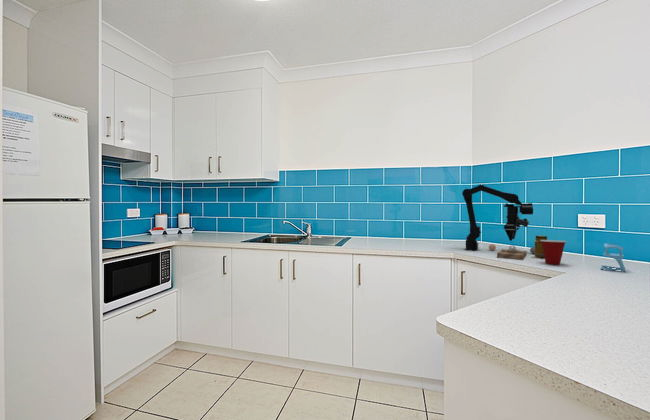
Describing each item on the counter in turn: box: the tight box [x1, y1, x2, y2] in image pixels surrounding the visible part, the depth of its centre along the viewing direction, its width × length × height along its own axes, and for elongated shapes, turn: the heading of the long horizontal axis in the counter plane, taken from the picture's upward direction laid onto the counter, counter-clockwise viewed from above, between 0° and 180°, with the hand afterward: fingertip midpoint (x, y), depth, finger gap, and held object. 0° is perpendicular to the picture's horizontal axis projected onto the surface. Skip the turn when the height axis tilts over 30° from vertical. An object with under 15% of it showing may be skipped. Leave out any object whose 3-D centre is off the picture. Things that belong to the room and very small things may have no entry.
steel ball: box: [508, 245, 517, 250], centre depth 186 cm, size 4×4×4 cm
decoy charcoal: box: [529, 246, 535, 255], centre depth 179 cm, size 4×4×4 cm
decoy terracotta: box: [488, 243, 497, 251], centre depth 193 cm, size 4×4×4 cm
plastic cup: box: [540, 239, 567, 266], centre depth 153 cm, size 11×11×12 cm
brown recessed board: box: [496, 248, 527, 261], centre depth 173 cm, size 12×16×2 cm
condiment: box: [532, 235, 548, 260], centre depth 168 cm, size 7×8×12 cm
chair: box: [600, 242, 627, 272], centre depth 138 cm, size 8×8×12 cm
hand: (512, 239), depth 186 cm, fingers open, 9 cm apart
